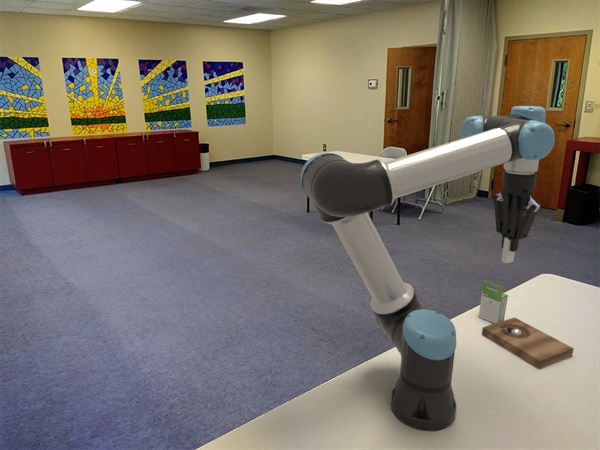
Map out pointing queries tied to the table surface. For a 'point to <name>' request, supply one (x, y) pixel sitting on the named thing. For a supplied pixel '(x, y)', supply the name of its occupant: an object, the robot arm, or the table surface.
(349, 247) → the robot arm
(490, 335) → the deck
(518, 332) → the ball
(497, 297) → the ink box
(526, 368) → the table surface
